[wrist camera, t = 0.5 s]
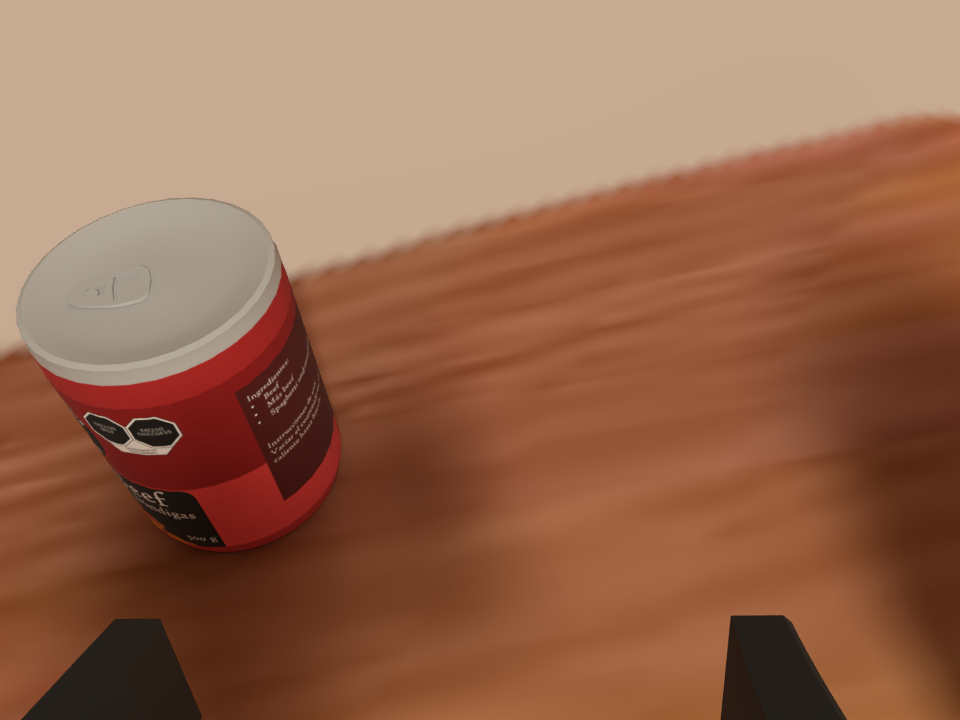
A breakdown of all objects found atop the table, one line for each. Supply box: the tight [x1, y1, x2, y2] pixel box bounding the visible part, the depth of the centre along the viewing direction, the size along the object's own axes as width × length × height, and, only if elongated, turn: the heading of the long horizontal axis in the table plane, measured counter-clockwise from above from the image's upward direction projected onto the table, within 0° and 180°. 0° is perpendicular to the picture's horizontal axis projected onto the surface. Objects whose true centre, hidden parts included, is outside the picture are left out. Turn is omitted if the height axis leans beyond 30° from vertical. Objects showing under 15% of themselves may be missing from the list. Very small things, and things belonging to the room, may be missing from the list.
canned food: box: [16, 198, 341, 552], centre depth 31 cm, size 8×8×11 cm
